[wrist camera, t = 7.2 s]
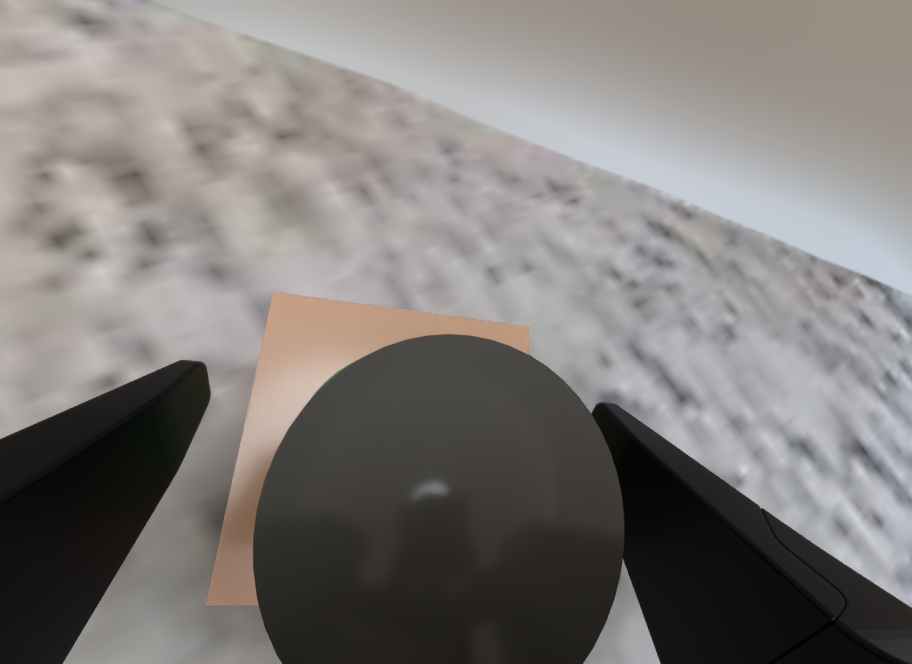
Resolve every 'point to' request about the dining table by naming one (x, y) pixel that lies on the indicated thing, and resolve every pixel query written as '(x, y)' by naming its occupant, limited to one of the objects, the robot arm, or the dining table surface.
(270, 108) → the dining table surface
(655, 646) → the robot arm
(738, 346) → the dining table surface
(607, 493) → the bottle
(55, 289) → the dining table surface
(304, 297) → the tile
